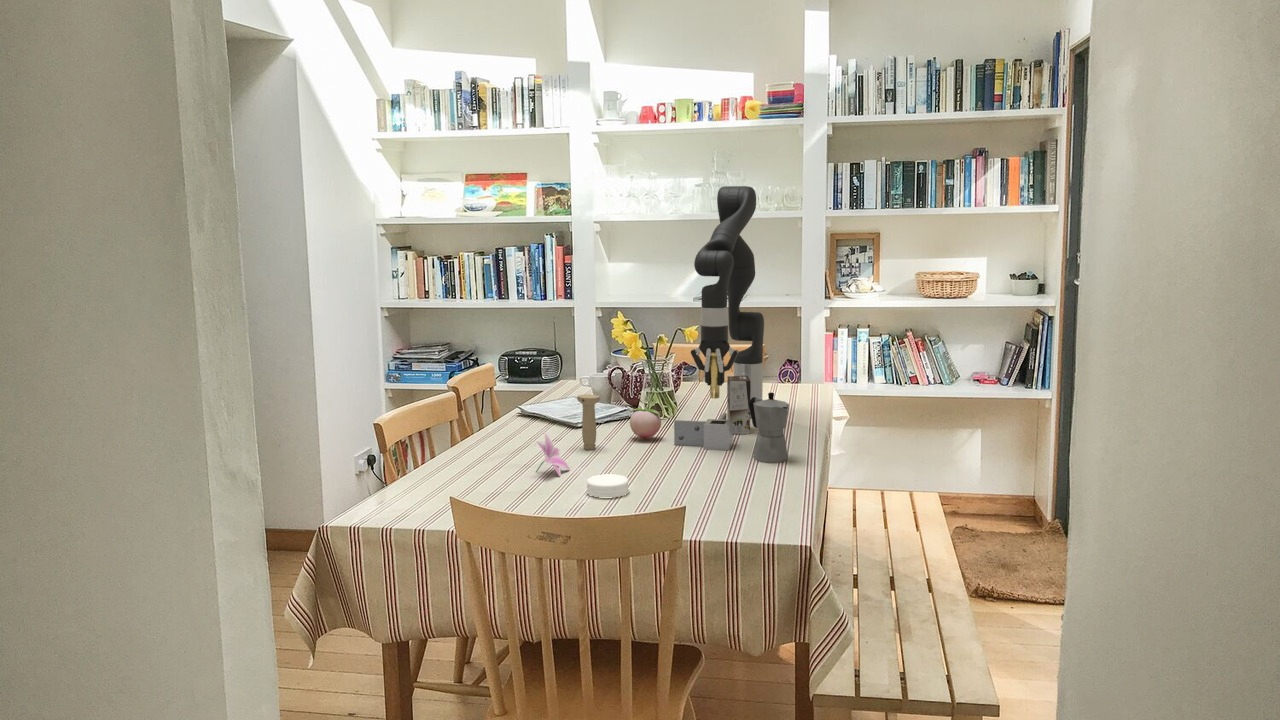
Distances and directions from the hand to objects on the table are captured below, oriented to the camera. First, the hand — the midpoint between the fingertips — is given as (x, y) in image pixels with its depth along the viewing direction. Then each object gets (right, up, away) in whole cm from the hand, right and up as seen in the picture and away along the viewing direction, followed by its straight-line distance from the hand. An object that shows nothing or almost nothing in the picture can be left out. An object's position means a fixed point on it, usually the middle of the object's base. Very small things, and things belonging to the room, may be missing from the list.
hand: (714, 384), depth 269 cm
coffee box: (+9, -15, +21) cm, 27 cm away
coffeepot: (+13, -20, -10) cm, 26 cm away
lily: (-43, -22, -22) cm, 53 cm away
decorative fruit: (-19, -16, +11) cm, 28 cm away
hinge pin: (0, -4, +1) cm, 4 cm away
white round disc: (-28, -25, -39) cm, 54 cm away
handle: (-35, -18, +2) cm, 39 cm away
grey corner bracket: (-2, -17, +8) cm, 18 cm away
